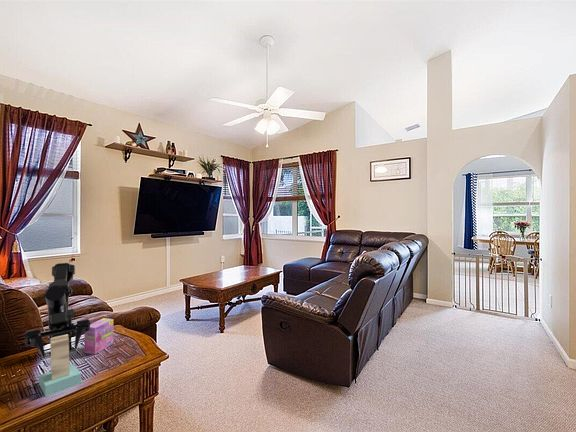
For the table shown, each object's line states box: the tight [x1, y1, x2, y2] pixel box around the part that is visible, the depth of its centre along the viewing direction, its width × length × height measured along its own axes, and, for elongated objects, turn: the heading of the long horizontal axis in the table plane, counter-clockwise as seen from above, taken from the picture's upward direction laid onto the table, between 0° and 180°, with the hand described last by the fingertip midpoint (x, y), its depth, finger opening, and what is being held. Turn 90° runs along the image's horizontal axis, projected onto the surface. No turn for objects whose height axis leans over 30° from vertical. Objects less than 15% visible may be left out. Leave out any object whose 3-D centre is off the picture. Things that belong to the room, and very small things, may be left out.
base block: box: [38, 363, 82, 397], centre depth 105 cm, size 10×10×4 cm
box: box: [83, 317, 114, 355], centre depth 132 cm, size 10×6×12 cm, turn 168°
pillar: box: [49, 334, 70, 380], centre depth 104 cm, size 5×5×13 cm
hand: (60, 353), depth 103 cm, fingers open, 9 cm apart
